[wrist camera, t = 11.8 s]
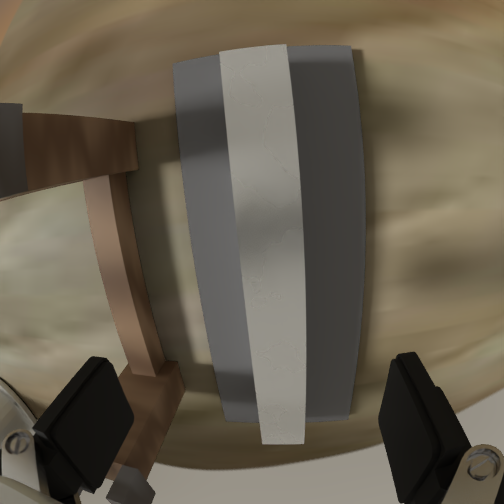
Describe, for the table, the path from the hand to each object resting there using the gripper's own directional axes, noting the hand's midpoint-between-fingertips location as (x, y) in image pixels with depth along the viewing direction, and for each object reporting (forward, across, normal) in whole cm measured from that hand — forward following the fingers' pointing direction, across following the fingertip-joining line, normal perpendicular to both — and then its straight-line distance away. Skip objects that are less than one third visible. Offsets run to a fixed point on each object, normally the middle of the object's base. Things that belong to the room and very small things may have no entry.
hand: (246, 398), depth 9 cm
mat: (+10, -1, 0) cm, 10 cm away
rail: (+9, -1, 0) cm, 9 cm away
